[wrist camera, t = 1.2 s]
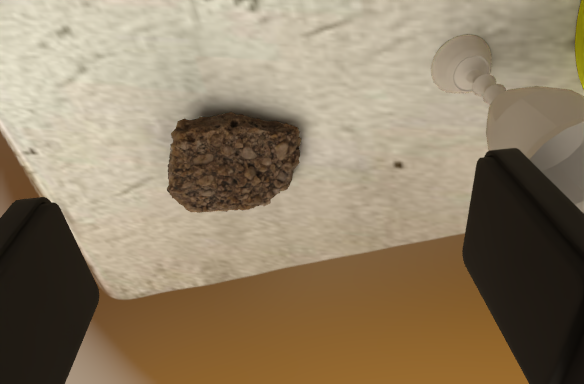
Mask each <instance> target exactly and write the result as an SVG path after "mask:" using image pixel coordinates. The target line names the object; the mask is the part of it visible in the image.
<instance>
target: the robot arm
mask: <svg viewBox="0 0 584 384" xmlns="http://www.w3.org/2000/svg"><path fill="white" fill-rule="evenodd" d="M463 260H464V264H465V266H466V267H467V269H468V272H469V273H470V275H471V277H472V279H473V281H474V283H475V284H476V286H477V288H478V290H479V292H480V294H481V296H482V297H483V299H484V301H485V303H486V305H487V306H488V308H489V310H490V312H491V314H492V316H493V318H494V319H495V321H496V323H497V325H498V327H499V329H500V330H501V332H502V334H503V336H504V338H505V340H506V342H507V343H508V345H509V347H510V349H511V351H512V353H513V355H514V356H515V358H516V360H517V362H518V364H519V366H520V367H521V369H522V371H523V373H524V375H525V377H526V378H527V380H528V382H529V384H584V213H583V212H582V211H581V210H580V209H579V208H578V207H577V206H576V205H575V204H574V203H573V202H572V201H571V200H570V199H569V198H568V197H567V196H566V195H565V194H564V193H563V192H562V191H561V190H560V189H559V188H558V187H557V186H556V185H555V184H554V183H553V182H552V181H551V180H550V179H548V178H547V177H546V176H545V175H544V174H543V173H542V172H541V171H540V170H539V169H538V168H537V167H536V166H535V165H534V164H533V163H532V162H531V161H530V160H529V159H528V158H527V157H526V156H525V155H524V154H523V153H522V152H521V151H520V150H519V149H517V148H508V149H498V150H489V151H488V152H487V153H486V155H485V157H484V158H480V159H479V160H478V161H477V165H476V171H475V178H474V184H473V190H472V196H471V202H470V208H469V214H468V220H467V226H466V232H465V238H464V245H463ZM98 301H99V289H98V287H97V284H96V282H95V280H94V278H93V276H92V274H91V272H90V270H89V268H88V266H87V263H86V261H85V259H84V257H83V255H82V253H81V251H80V249H79V247H78V245H77V243H76V240H75V238H74V236H73V234H72V232H71V230H70V228H69V226H68V224H67V222H66V220H65V217H64V215H63V213H62V211H61V209H60V207H59V206H58V205H57V204H56V203H51V201H50V200H48V199H47V198H45V197H40V198H31V199H22V200H16V201H15V202H14V203H12V205H11V206H10V207H9V208H8V210H7V211H6V212H5V213H4V214H3V215H2V217H1V218H0V384H65V382H66V379H67V377H68V375H69V372H70V370H71V367H72V365H73V362H74V360H75V358H76V355H77V353H78V350H79V348H80V346H81V343H82V341H83V338H84V336H85V333H86V331H87V329H88V326H89V324H90V321H91V319H92V317H93V314H94V312H95V309H96V307H97V305H98Z"/></svg>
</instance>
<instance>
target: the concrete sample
mask: <svg viewBox="0 0 584 384" xmlns="http://www.w3.org/2000/svg"><path fill="white" fill-rule="evenodd" d="M299 133H300V131H299V130H298V128H297V127H295V126H292V125H289V124H287V123H285V124H282V123H280V122H278V121H263V120H261V119H259V118H257V119H255V118H251V117H248V116H244V115H242V114H240V115H236V114H234V113H232V112H229V113H225V114H221V115H217V116H212V117H199V118H198V119H195V120H186V119H183V120H180V121H178V123H177V126H176V129H175V130H174V131H173V132H172V133H171V136H172V138H173V143H172V144H171V149H170V150H171V152H170V157H169V158H170V160H169V162H170V163H169V164H168V172H169V173H168V179H169V186H168V188H167V191H168V192H169V193H170V195H172V198H174V199H175V200H176V201H177V202H178V203H179V204H181V205H183V206H184V207H185V208H186V210H188V211H190V212H198V213H199V212H212V211H218V210H219V211H226V212H227V211H228V210H238V209H240V210H247V209H250V208H254V207H255V206H259V205H263V206H265V205H268V204H270V203H271V202H270V199H271V198H273V197H274V196H275V195H276V194H278V193H280V191H284V190H286V189H288V187H289V185H290V182H291V180H292V175H293V170H294V169H295V167H296V166H297V165H298V164H299V157H300V151H299V146H300V143H301V138H300V137H298V136H299Z"/></svg>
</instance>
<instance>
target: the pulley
mask: <svg viewBox="0 0 584 384" xmlns="http://www.w3.org/2000/svg"><path fill="white" fill-rule="evenodd" d="M575 55H576V64H577V70H578V74H579V78H580V81H581V84H582V87H583V89H584V0H581V3H580V8H579V12H578V18H577V25H576V35H575Z"/></svg>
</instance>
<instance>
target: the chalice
mask: <svg viewBox="0 0 584 384" xmlns="http://www.w3.org/2000/svg"><path fill="white" fill-rule="evenodd" d="M491 68H492V63H491V52H490V48H489V46H488V45H487V43H486V42H485V41H484V40H483V39H481V38H479V37H478V36H475V35H468V34H467V35H461V36H457V37H455V38H453V39H451V40H449V41H447V42H446V43H445V44H444V45H443V46H442V47H441V48H440V49H439V50H438V52H437V53H436V55H435V56H434V59H433V62H432V66H431V75H432V78H433V81H434V83H435V84H436V85H437V86H438V87H439V89H441V90H443V91H445V92H449V93H469V92H472V91H473V92H474V93H475V94H476V95H478V96H483V99H484V101H485V102H486V103H487V104H490V107H489V111H488V118H487V128H486V136H487V144H488V150H498V149H508V148H517V149H519V150H520V151H521V152H522V153H523V154H524V155H525V156H526V157H527V158H528V159H529V160H530V161H531V162H532V163H533V164H534V165H535V166H536V167H537V168H538V169H539V170H540V171H541V172H542V173H543V174H544V175H545V176H546V177H547V178H548V179H550V180H551V181H552V182H553V183H554V184H555V185H556V186H557V187H558V188H559V189H560V190H561V191H562V192H563V193H564V194H565V195H566V196H567V197H568V198H569V199H570V200H571V201H572V202H573V203H574V204H575V205H576V206H577V207H578V208H579V209H580V210H581V211H582V212H583V213H584V96H582V95H580V94H578V93H576V92H574V91H572V90H567V89H558V88H549V87H539V86H534V87H525V88H516V89H510V90H507V91H506V88H505V87H504V86H503V85H501V84H496V79H495V77H494V76H492V75H490V73H491Z"/></svg>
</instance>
